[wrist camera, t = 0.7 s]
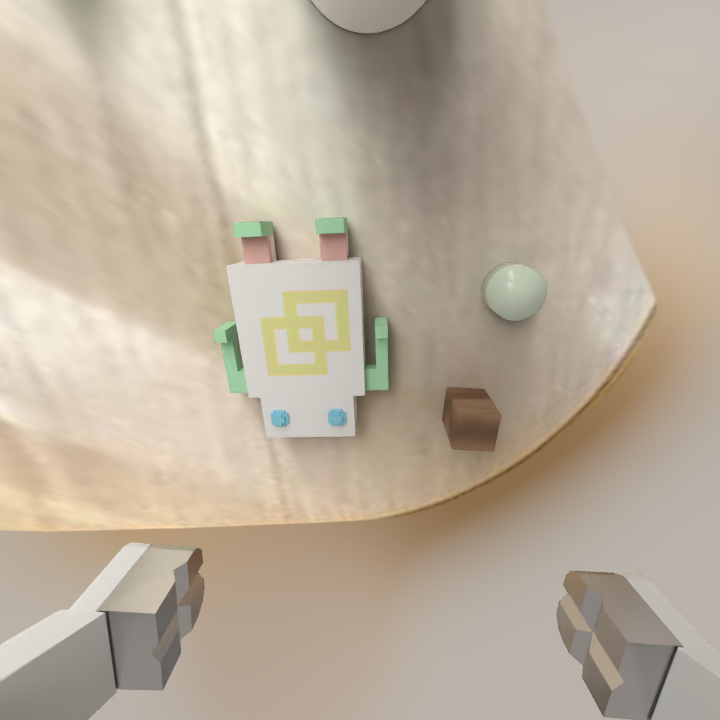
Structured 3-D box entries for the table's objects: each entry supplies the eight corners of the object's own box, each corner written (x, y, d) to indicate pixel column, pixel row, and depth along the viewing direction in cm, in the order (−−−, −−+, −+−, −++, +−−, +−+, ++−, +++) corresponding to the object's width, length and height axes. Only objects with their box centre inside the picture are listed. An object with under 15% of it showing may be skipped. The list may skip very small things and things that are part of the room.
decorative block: (389, 439, 44) (231, 440, 45) (387, 413, 50) (248, 415, 51) (386, 215, 35) (188, 224, 36) (384, 216, 41) (215, 224, 42)
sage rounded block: (485, 261, 42) (496, 265, 38) (536, 263, 42) (552, 267, 38) (477, 311, 44) (486, 319, 40) (526, 313, 44) (540, 321, 40)
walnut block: (446, 387, 48) (457, 412, 41) (484, 389, 48) (501, 415, 41) (442, 419, 50) (452, 449, 43) (478, 421, 49) (493, 451, 43)
